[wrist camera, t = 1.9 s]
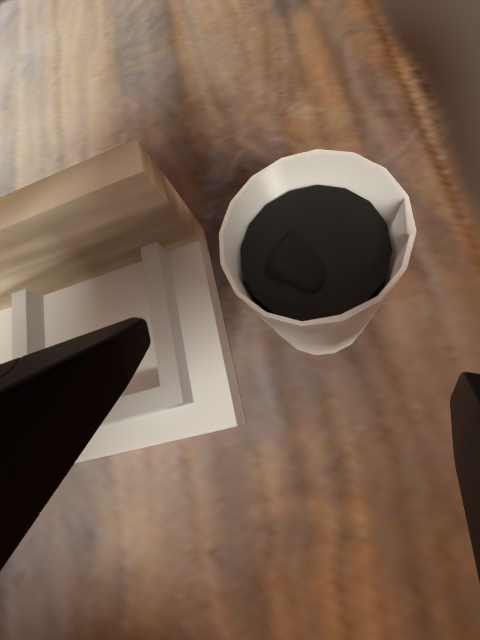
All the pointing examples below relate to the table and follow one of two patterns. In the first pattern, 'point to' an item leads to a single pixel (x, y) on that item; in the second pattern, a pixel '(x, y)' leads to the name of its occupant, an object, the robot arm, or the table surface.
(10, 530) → the robot arm
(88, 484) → the table surface
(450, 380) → the table surface
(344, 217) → the white coffee cup
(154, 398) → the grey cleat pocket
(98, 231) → the ash wall board
